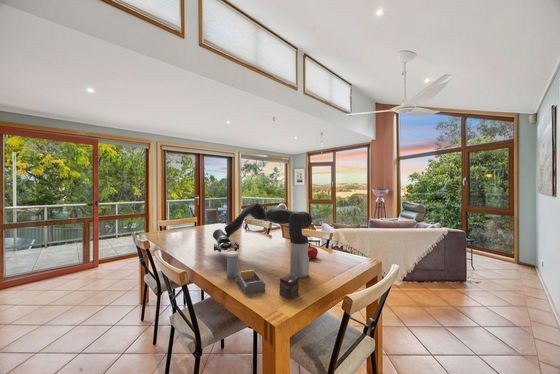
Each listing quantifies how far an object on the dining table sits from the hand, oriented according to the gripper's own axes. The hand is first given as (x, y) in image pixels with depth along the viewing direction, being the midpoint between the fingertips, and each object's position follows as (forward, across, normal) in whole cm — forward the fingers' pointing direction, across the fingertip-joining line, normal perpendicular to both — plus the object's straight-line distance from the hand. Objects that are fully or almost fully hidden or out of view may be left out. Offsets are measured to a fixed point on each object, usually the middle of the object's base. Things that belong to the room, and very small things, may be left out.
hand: (228, 250), depth 125 cm
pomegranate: (-2, -53, -10) cm, 54 cm away
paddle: (+18, -7, -10) cm, 21 cm away
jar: (+11, 0, -10) cm, 15 cm away
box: (+39, -20, -10) cm, 45 cm away
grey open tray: (+24, -7, -10) cm, 27 cm away
